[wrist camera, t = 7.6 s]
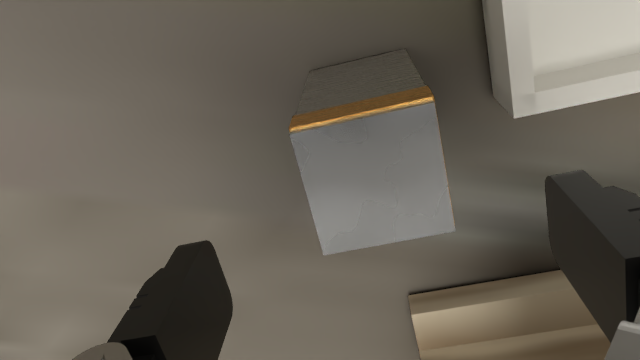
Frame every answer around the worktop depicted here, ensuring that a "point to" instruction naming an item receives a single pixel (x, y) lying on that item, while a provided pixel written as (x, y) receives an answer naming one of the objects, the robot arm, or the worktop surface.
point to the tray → (561, 52)
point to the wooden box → (507, 321)
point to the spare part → (371, 154)
